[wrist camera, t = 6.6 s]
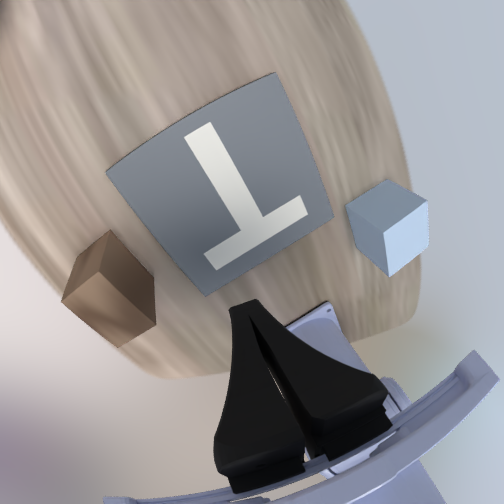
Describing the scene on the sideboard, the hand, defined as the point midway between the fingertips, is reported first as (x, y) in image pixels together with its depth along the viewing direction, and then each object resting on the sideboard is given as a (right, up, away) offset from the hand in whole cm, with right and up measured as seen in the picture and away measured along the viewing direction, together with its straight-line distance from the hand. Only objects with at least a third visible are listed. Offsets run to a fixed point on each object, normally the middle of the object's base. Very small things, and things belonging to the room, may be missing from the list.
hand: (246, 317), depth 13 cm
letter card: (-1, +7, +6) cm, 9 cm away
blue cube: (+11, +6, +11) cm, 17 cm away
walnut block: (-7, +2, +4) cm, 8 cm away
